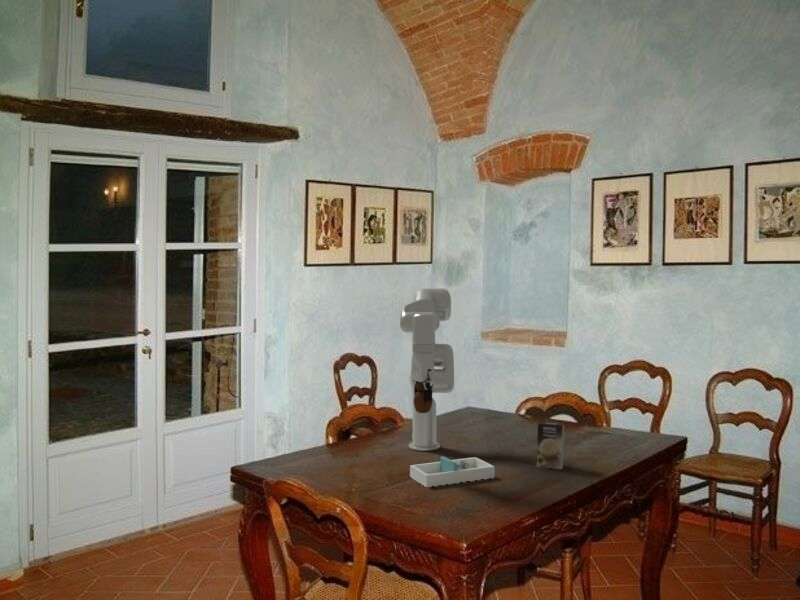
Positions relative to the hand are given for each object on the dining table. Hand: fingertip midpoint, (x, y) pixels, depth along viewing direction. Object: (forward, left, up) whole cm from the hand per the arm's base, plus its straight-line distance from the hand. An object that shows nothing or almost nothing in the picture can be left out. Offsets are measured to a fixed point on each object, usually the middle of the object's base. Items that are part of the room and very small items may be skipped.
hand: (423, 398), depth 247 cm
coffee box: (+12, +45, -26) cm, 54 cm away
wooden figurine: (0, 0, -5) cm, 5 cm away
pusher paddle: (+10, +8, -25) cm, 28 cm away
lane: (+10, +7, -26) cm, 29 cm away
